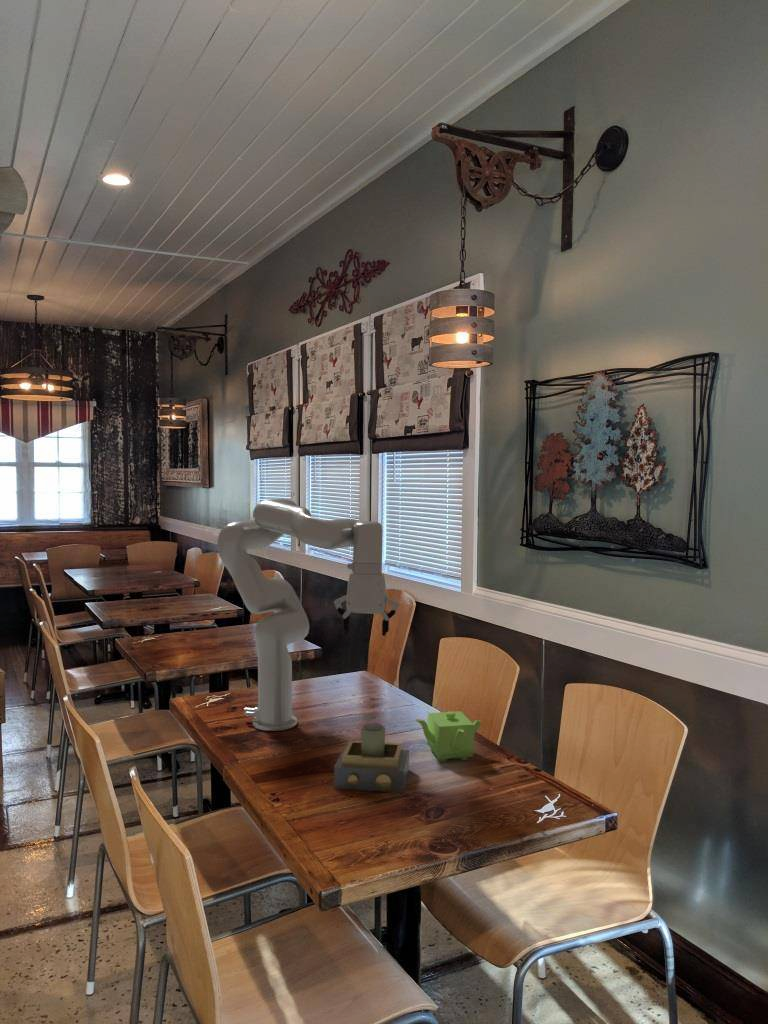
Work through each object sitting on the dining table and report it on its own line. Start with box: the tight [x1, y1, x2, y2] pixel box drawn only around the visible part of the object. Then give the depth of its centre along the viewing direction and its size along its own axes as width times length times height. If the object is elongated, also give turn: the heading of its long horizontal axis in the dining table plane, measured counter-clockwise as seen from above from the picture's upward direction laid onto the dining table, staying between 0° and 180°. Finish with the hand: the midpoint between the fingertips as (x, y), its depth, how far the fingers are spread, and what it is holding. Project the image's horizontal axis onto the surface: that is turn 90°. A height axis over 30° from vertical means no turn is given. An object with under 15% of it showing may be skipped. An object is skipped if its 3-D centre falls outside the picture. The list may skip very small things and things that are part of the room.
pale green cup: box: [360, 722, 386, 757], centre depth 178 cm, size 6×7×7 cm
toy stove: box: [333, 740, 410, 794], centre depth 177 cm, size 16×14×7 cm
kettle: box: [414, 710, 483, 763], centre depth 193 cm, size 15×14×11 cm
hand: (366, 633), depth 197 cm, fingers open, 9 cm apart
